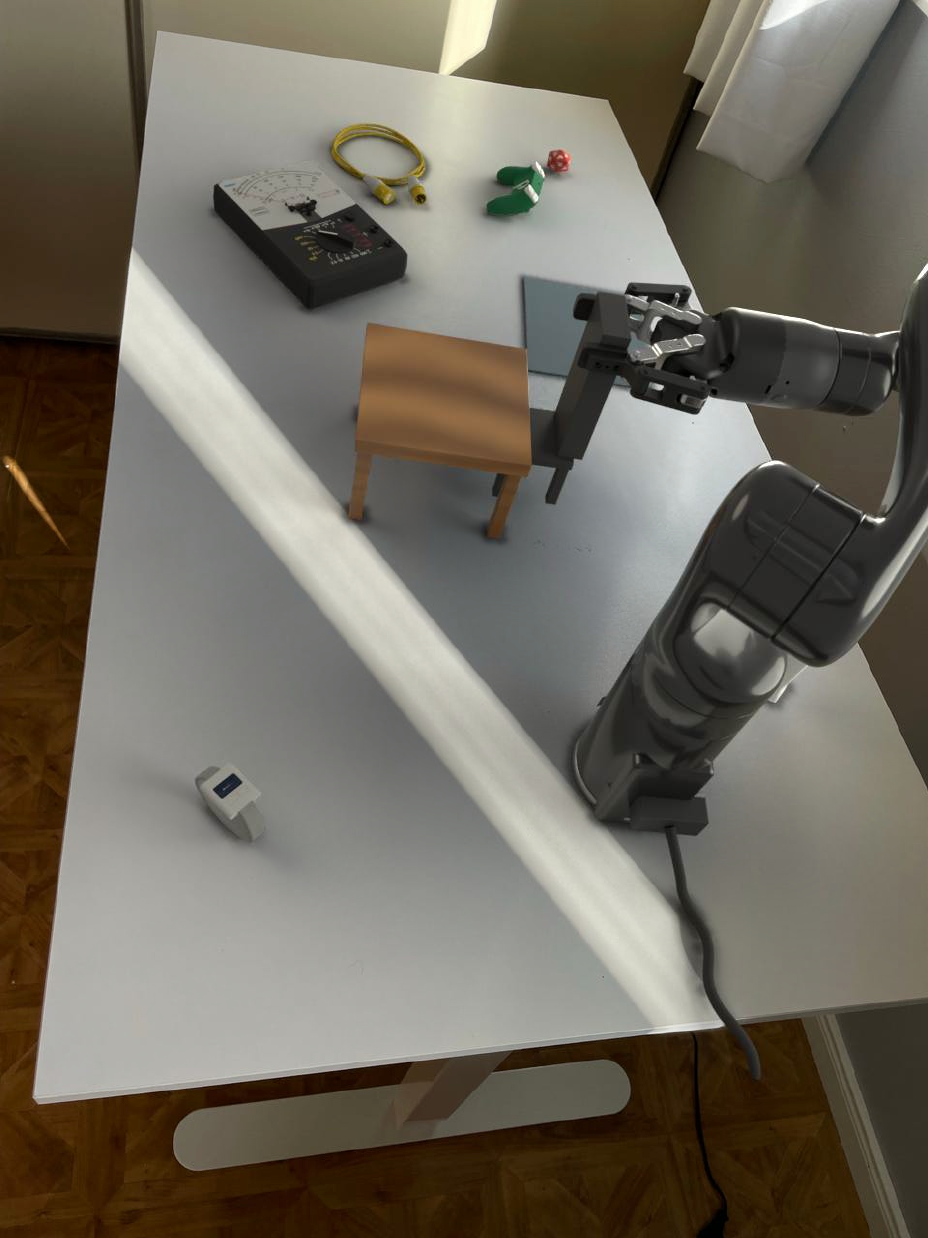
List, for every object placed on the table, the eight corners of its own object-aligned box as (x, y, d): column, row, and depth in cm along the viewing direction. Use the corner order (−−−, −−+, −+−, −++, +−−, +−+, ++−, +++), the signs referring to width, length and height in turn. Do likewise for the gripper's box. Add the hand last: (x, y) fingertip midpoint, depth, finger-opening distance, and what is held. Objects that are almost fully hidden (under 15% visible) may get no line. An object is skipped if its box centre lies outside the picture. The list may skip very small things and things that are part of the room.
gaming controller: (498, 233, 124) (539, 213, 121) (482, 207, 122) (524, 186, 119) (510, 194, 129) (550, 174, 126) (495, 168, 127) (536, 147, 124)
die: (541, 164, 132) (547, 142, 129) (563, 165, 133) (569, 143, 130) (548, 177, 130) (554, 156, 128) (569, 178, 131) (576, 157, 129)
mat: (651, 390, 110) (651, 389, 110) (527, 370, 108) (528, 369, 108) (637, 298, 119) (638, 297, 119) (523, 278, 117) (524, 276, 117)
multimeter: (308, 313, 106) (311, 273, 102) (211, 210, 112) (211, 169, 108) (405, 280, 112) (412, 241, 108) (308, 185, 119) (311, 145, 115)
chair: (561, 458, 99) (625, 291, 83) (564, 507, 95) (632, 343, 79) (489, 448, 98) (540, 277, 82) (490, 497, 94) (544, 328, 78)
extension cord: (323, 194, 118) (324, 179, 117) (337, 124, 128) (338, 108, 126) (424, 214, 120) (426, 199, 119) (431, 143, 129) (433, 128, 128)
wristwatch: (273, 834, 73) (276, 806, 69) (243, 859, 71) (245, 832, 67) (216, 777, 75) (216, 746, 70) (187, 801, 73) (185, 770, 69)
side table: (503, 542, 93) (532, 465, 85) (343, 521, 91) (355, 439, 82) (501, 428, 102) (527, 348, 93) (355, 406, 99) (367, 322, 91)
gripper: (773, 270, 86) (584, 237, 83) (805, 385, 78) (596, 351, 75) (737, 339, 92) (560, 310, 89) (763, 452, 84) (569, 423, 81)
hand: (578, 329), depth 82 cm, fingers closed on chair, 5 cm apart
